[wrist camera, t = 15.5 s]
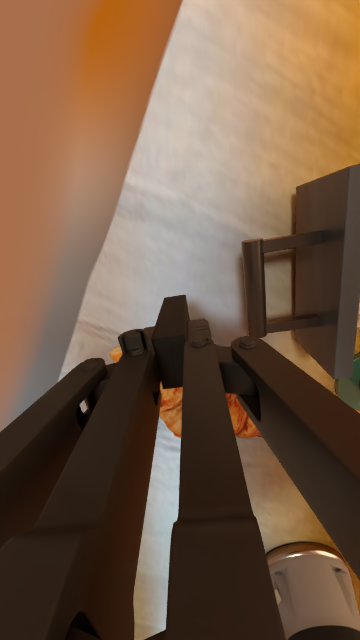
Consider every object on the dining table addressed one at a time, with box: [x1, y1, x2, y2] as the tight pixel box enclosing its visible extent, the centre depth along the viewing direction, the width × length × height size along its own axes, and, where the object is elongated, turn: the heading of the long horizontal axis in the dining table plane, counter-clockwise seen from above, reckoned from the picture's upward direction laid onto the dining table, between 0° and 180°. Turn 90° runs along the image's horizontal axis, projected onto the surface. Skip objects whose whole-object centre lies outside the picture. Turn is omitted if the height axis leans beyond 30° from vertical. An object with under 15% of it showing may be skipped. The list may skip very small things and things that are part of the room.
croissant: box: [110, 346, 262, 438], centre depth 27 cm, size 21×10×8 cm, turn 62°
